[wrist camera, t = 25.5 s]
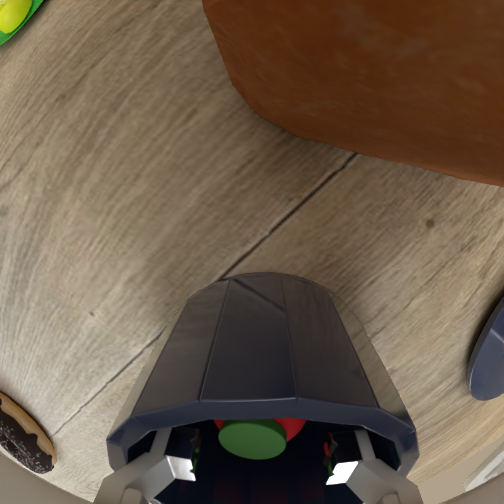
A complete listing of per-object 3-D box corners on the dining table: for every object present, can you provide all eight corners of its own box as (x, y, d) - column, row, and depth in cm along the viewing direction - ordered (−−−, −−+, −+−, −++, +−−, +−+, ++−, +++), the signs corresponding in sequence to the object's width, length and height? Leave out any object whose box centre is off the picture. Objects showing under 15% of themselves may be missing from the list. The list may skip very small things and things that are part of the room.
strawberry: (323, 388, 13) (325, 459, 9) (248, 408, 14) (231, 473, 10) (289, 322, 12) (281, 394, 8) (207, 350, 14) (173, 416, 9)
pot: (380, 388, 14) (422, 488, 7) (227, 440, 16) (215, 536, 9) (319, 231, 12) (393, 322, 5) (127, 322, 14) (52, 425, 6)
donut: (34, 405, 17) (13, 432, 13) (76, 469, 20) (65, 493, 17) (-26, 370, 17) (-45, 389, 13) (14, 437, 21) (1, 455, 17)
